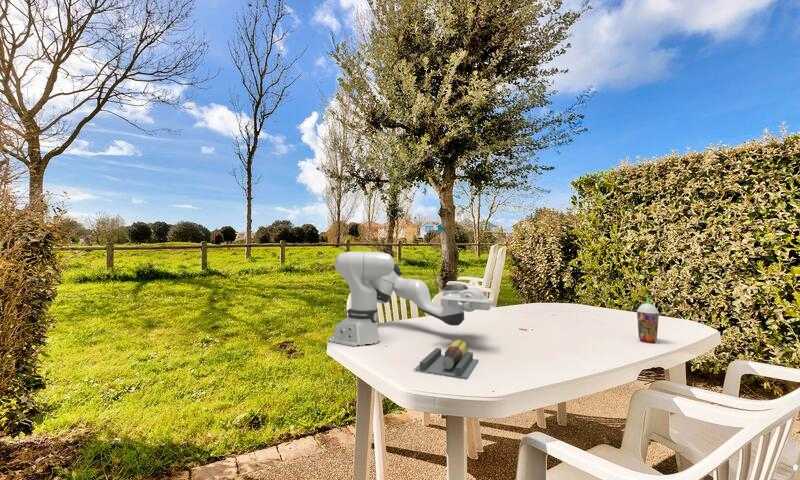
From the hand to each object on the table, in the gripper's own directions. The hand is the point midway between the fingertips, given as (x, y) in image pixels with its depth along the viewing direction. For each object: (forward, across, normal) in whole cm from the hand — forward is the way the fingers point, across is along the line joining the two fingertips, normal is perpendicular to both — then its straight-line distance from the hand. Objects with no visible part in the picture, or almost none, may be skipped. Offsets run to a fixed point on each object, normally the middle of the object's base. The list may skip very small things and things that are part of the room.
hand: (461, 306), depth 144 cm
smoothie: (-54, -73, -19) cm, 92 cm away
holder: (+17, +1, -18) cm, 25 cm away
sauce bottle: (+5, -1, -15) cm, 16 cm away
